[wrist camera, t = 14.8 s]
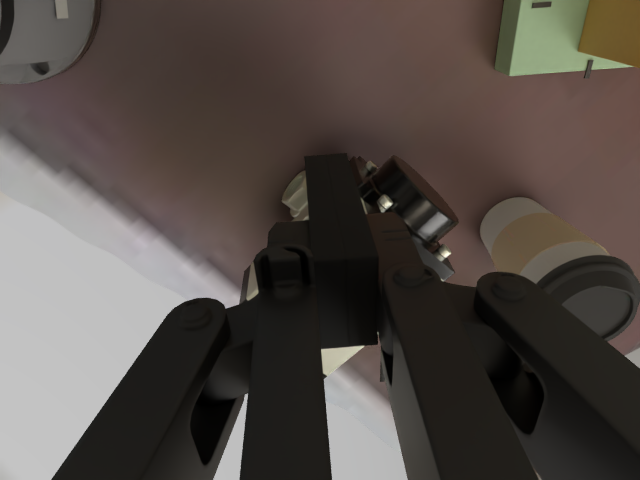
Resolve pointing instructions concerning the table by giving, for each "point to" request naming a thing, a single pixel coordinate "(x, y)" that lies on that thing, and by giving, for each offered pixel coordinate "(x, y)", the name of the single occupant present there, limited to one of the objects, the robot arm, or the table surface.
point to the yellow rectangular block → (612, 31)
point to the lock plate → (545, 38)
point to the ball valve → (381, 197)
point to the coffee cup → (562, 264)
